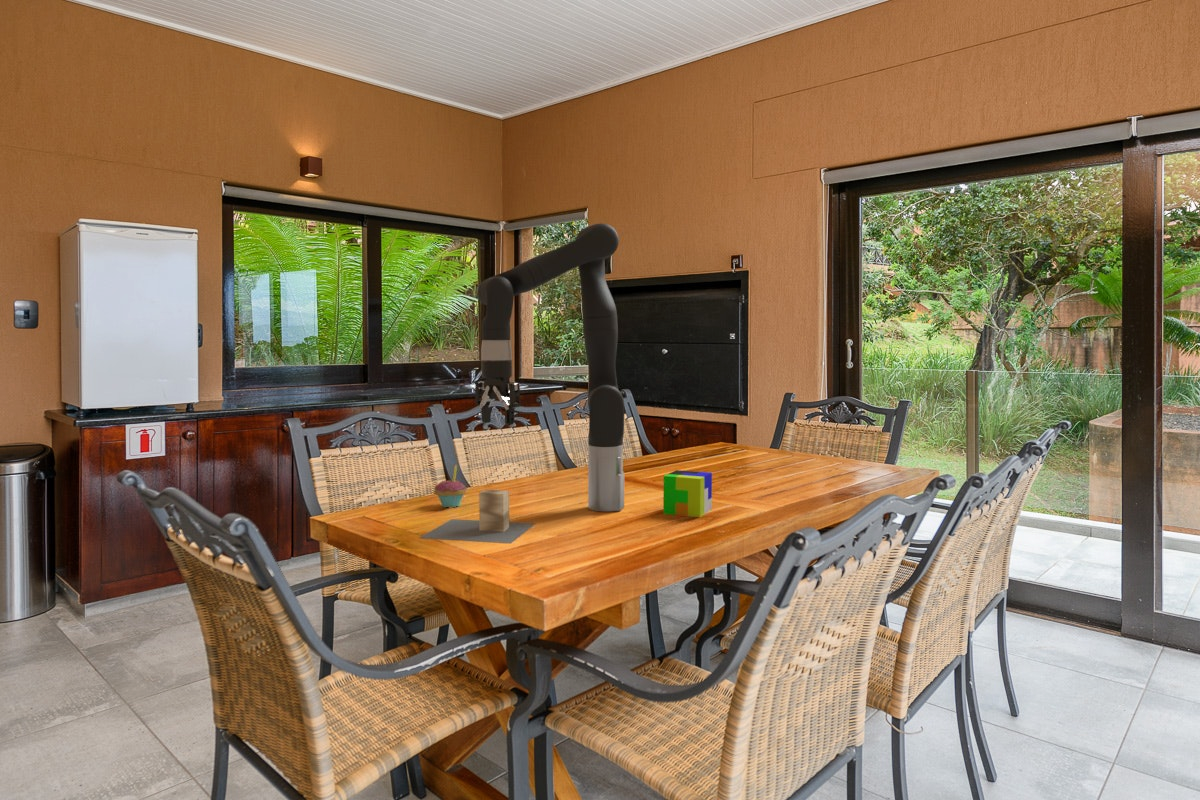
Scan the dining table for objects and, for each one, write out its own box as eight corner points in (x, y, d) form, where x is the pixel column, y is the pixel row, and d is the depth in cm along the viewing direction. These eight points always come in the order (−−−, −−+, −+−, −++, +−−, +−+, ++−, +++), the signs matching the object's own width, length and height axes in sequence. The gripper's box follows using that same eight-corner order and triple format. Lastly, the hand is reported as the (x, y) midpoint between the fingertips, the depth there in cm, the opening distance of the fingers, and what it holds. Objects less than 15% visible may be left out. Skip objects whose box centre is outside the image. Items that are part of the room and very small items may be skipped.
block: (509, 527, 184) (509, 490, 183) (503, 531, 180) (503, 493, 179) (485, 526, 185) (485, 489, 184) (479, 530, 181) (479, 492, 180)
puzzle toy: (711, 509, 205) (711, 472, 204) (700, 517, 196) (700, 478, 195) (676, 506, 209) (676, 470, 208) (663, 513, 200) (663, 476, 199)
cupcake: (472, 504, 212) (471, 461, 211) (456, 510, 204) (455, 465, 203) (444, 502, 215) (444, 459, 214) (428, 508, 207) (427, 464, 206)
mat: (535, 524, 188) (535, 523, 188) (510, 544, 169) (510, 543, 169) (451, 520, 193) (451, 519, 193) (418, 539, 174) (418, 537, 174)
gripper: (527, 358, 188) (528, 424, 189) (489, 358, 197) (490, 420, 199) (504, 359, 182) (505, 427, 184) (466, 358, 192) (467, 423, 193)
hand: (497, 423), depth 191 cm, fingers open, 8 cm apart
